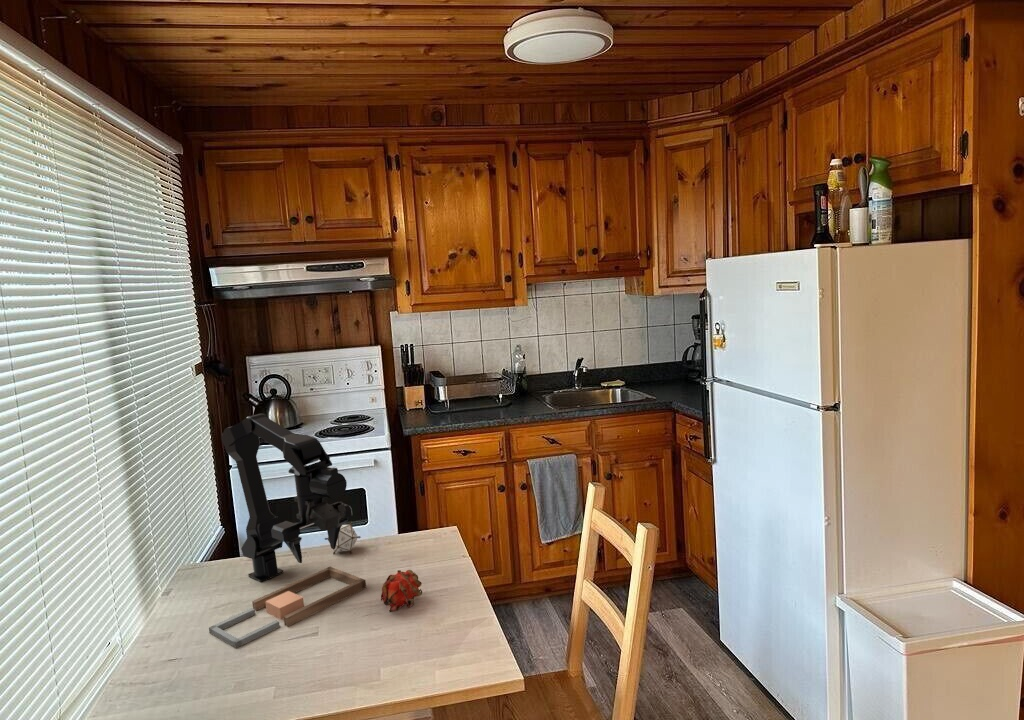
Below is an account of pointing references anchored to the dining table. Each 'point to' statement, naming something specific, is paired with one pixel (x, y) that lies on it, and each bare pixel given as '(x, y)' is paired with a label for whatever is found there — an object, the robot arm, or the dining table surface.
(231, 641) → the grey bay
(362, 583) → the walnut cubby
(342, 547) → the game die
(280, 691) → the dining table surface
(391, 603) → the dragon fruit
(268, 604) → the terracotta block
